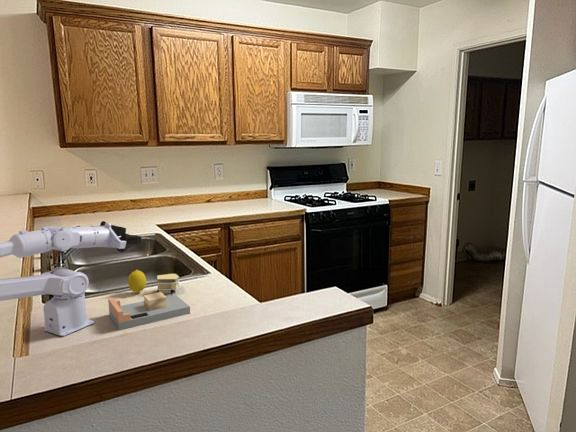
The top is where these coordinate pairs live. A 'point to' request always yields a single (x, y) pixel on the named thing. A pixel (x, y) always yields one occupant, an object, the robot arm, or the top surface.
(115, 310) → the terracotta end wall
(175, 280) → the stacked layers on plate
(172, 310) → the slate board
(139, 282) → the lemon
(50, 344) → the top surface
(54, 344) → the top surface
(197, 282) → the top surface
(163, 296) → the birch block
